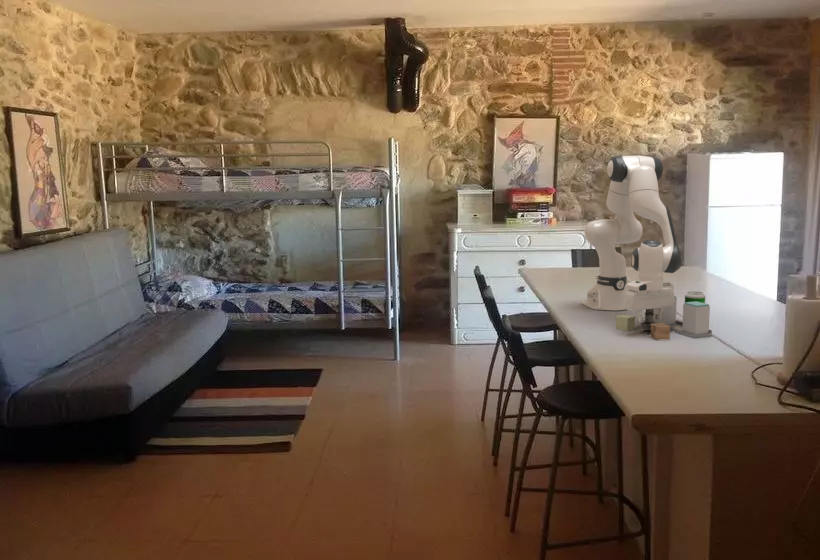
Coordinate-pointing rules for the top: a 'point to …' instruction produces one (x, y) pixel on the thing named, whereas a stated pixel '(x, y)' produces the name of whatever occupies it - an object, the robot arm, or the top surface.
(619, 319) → the block olive
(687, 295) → the soda can
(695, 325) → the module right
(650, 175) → the robot arm
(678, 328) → the rail
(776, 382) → the top surface
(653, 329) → the block walnut
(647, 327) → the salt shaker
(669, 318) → the block
